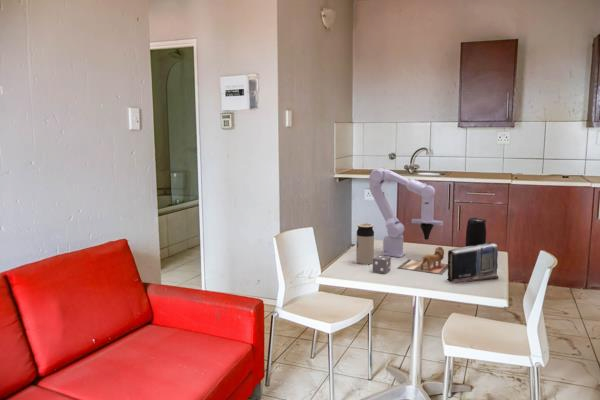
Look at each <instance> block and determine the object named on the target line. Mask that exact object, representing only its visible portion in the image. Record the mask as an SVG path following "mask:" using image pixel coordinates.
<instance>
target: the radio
mask: <svg viewBox="0 0 600 400" xmlns="http://www.w3.org/2000/svg"><path fill="white" fill-rule="evenodd" d="M498 247H499V246H498V245H497V244H496V243H494V242H492V241H489V242H486V243H485V244H479V245H476V246H467V247H466V246H463V247H456V248H450V249H449V250H448V251H447V264H448V269H447V278H446V281H448V282H449V283H450V284H456V283H457V284H458V283H467V282H473V281H474V282H477V281H483V280H489V279H490V280H491V279H499V275H498V266H499V265H498V257H499V255H498V254H499V252H498Z"/></svg>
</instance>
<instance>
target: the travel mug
mask: <svg viewBox="0 0 600 400" xmlns="http://www.w3.org/2000/svg"><path fill="white" fill-rule="evenodd" d="M356 226H357V230H356V263H357V264H360V265H371V264H373V258H375V257H374V256H375V254H374V252H375V251H374V249H375V248H374V247H375V231H374V229H373V227H374V224H373V223H368V222H366V223H365V222H364V223H363V222H362V223H357V224H356Z"/></svg>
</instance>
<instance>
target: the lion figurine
mask: <svg viewBox="0 0 600 400" xmlns="http://www.w3.org/2000/svg"><path fill="white" fill-rule="evenodd" d="M444 255H445V250H444V248H443V247H442V246H437V247H436V248H435V251H434V253H433V254H429V253H428V254H427V253H426V254H425V255H424V256H423V257H422V260H421V261H422V264H421V267H420V269H422V270H423V265H424V264H425V262H427V264H428V266H427V267H428V268H429V270H432V268H430V264H431V262H433V263H434V264H433V267H436V263H438V267H439V268H441V267H440V264H441V263H442V260H443V259H444Z"/></svg>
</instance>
